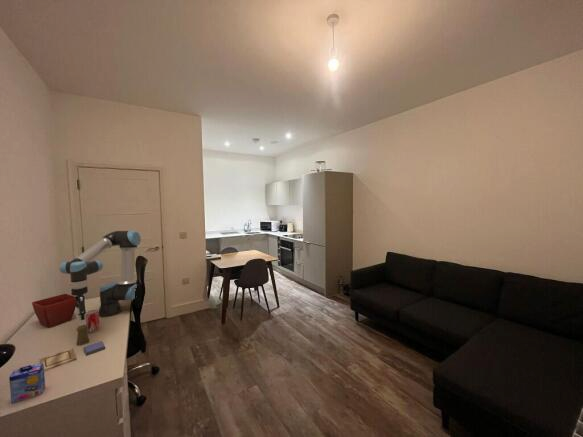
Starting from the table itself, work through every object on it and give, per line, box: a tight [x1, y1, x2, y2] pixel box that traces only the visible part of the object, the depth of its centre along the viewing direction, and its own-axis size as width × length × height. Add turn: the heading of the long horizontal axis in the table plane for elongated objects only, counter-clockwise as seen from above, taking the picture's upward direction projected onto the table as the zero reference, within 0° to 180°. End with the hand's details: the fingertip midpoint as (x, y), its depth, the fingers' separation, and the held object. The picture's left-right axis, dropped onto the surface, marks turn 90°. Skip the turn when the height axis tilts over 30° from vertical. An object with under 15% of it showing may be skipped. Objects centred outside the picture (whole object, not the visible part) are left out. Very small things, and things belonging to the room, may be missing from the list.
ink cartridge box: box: [8, 363, 46, 404], centre depth 110 cm, size 10×6×14 cm, turn 124°
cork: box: [76, 324, 90, 346], centre depth 151 cm, size 6×6×11 cm
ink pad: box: [82, 340, 106, 357], centre depth 145 cm, size 9×9×2 cm
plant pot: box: [31, 293, 76, 328], centre depth 178 cm, size 19×19×17 cm
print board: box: [39, 347, 77, 372], centre depth 135 cm, size 14×14×1 cm
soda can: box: [85, 309, 101, 334], centre depth 166 cm, size 7×7×13 cm
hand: (81, 321), depth 150 cm, fingers open, 13 cm apart
